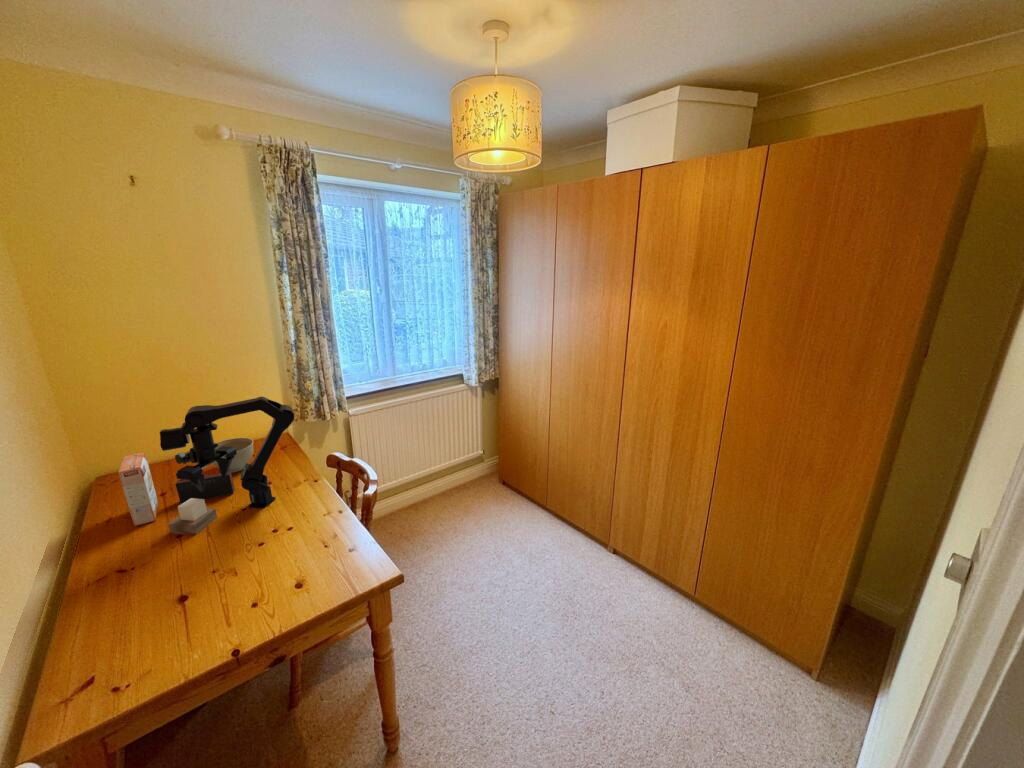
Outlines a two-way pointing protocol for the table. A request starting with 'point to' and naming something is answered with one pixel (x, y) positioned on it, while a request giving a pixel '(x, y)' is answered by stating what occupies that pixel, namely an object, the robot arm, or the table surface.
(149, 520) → the cereal box
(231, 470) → the planter bowl
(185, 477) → the robot arm
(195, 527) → the grey block
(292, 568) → the table surface
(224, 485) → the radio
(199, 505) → the cream cube
